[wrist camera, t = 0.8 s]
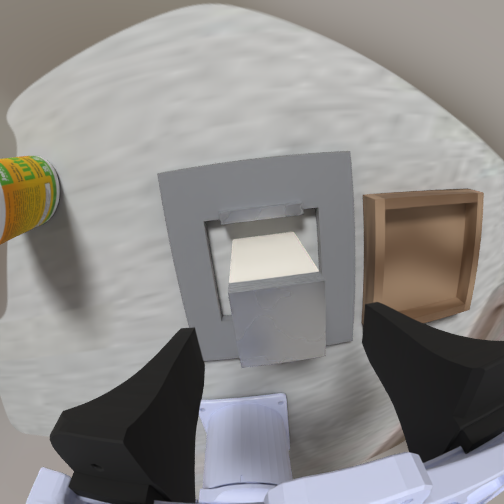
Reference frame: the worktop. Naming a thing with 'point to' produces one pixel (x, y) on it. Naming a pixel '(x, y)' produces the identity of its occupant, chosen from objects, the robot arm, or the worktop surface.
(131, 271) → the worktop surface
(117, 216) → the worktop surface
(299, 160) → the frame
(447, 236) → the tray
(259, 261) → the block
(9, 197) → the supplement bottle
